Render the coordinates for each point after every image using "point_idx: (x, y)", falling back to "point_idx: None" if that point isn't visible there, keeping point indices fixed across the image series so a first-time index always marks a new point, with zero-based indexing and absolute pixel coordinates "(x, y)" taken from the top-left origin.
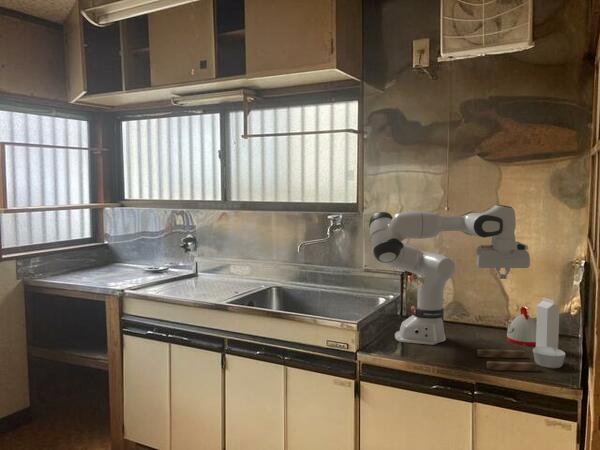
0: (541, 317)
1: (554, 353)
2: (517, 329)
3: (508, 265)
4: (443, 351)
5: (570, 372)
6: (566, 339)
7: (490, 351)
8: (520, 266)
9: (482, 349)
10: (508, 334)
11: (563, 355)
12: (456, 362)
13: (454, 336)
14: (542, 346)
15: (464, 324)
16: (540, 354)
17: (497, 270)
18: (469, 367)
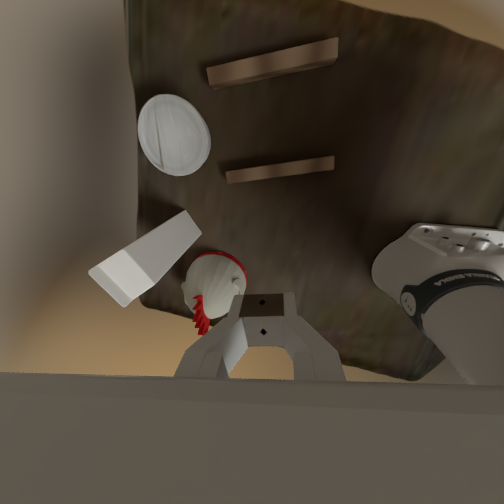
0: (159, 253)
1: (160, 120)
2: (225, 276)
3: (169, 416)
4: (408, 179)
5: (144, 87)
6: (150, 291)
7: (304, 160)
8: (23, 392)
9: (321, 169)
10: (243, 280)
11: (141, 110)
12: (404, 91)
13: (346, 284)
14: (187, 221)
15: None
16: (192, 106)
17: (331, 353)
18: (380, 51)
